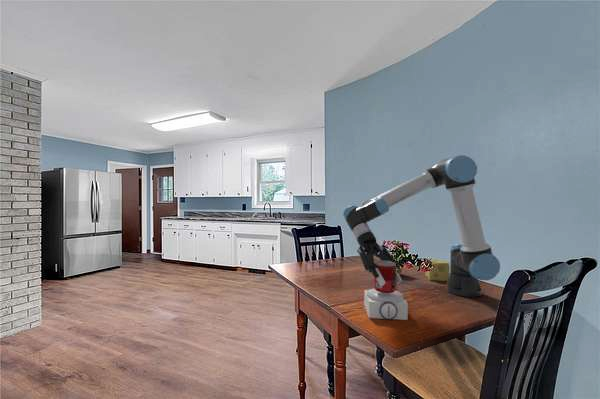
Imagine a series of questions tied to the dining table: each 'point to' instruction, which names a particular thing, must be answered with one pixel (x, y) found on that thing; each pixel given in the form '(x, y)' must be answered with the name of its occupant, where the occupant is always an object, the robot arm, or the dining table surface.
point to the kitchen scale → (385, 305)
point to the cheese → (438, 271)
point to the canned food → (386, 276)
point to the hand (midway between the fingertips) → (391, 283)
